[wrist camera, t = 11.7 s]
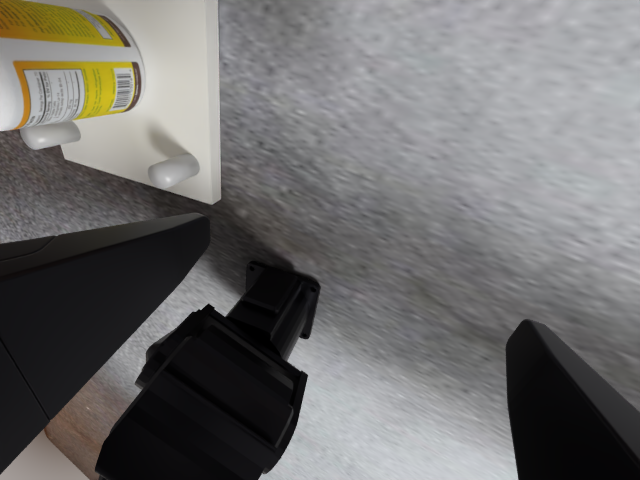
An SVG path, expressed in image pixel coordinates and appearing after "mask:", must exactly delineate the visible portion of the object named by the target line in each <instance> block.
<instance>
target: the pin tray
mask: <svg viewBox="0 0 640 480" xmlns="http://www.w3.org/2000/svg"><path fill="white" fill-rule="evenodd" d="M25 1H31V2H38V3H44V4H50V5H56V6H63V7H69V8H75V9H81V10H88V11H94V12H98V13H101V14H103V15H106V16H108V17H110V18H111V19H113V20H114V21H115V22H117V23H118V24H119V25H120V26H121V27H122V28H123V29H124V30H125V31H126V32H127V33H128V35H129V36H130V37H131V39H132V40H133V42H134V44H135V45H136V47H137V49H138V51H139V53H140V56H141V58H142V61H143V65H144V69H145V76H146V86H145V92H144V96H143V98H142V100H141V102H140V103H139V104H138V105H137V106H136V107H135V108H134V109H132V110H130V111H127V112H123V113H117V114H110V115H104V116H98V117H91V118H85V119H79V120H72V121H66V122H59V123H53V124H46V125H40V126H33V127H27V128H20V134H21V137H22V139H23V141H24V142H25V143H26V144H27V145H28V146H29V147H30V148H32V149H34V150H37V149H42V148H47V147H51V146H56V145H61V148H62V151H63V155H64V158H65V159H66V160H69V161H73V162H76V163H79V164H82V165H85V166H89V167H92V168H95V169H98V170H101V171H105V172H108V173H111V174H114V175H118V176H121V177H124V178H127V179H130V180H134V181H137V182H140V183H143V184H146V185H150V186H153V187H156V188H159V189H162V190H166V191H169V192H172V193H175V194H179V195H182V196H185V197H188V198H191V199H195V200H198V201H201V202H204V203H207V204H211V205H213V204H214V203H216V202H217V201H219V200H221V158H220V94H219V30H218V0H25Z"/></svg>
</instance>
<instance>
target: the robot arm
mask: <svg viewBox="0 0 640 480" xmlns="http://www.w3.org/2000/svg"><path fill="white" fill-rule="evenodd" d="M209 244H210V220H209V218H208V217H207V216H205V215H202V214H199V213H189V214H183V215H177V216H171V217H165V218H159V219H153V220H146V221H140V222H134V223H128V224H122V225H116V226H110V227H103V228H97V229H91V230H85V231H79V232H73V233H67V234H61V235H58V236H48V237H42V238H36V239H29V240H22V241H16V242H9V243H2V244H0V474H1V473H2V472H3V471H4V470H5V469H6V468H7V467H8V466H9V465H10V464H11V463H12V461H13V460H14V459H15V458H16V457H17V456H18V455H19V454H20V453H21V452H22V451H23V450H24V449H25V448H26V447H27V445H29V444H30V442H31V441H32V440H33V439H34V438H35V437H36V436H37V435H38V434H39V433H40V432H41V431H42V430H43V429H44V428H45V427H46V426H47V424H48V423H49V422H50V420H51V419H53V418H54V417H55V416H56V415H57V414H58V412H59V411H60V410H61V409H62V408H63V407H64V406H65V405H66V404H67V403H68V402H69V401H70V400H71V399H72V398H73V397H74V396H75V394H76V393H77V392H78V391H79V390H80V389H81V388H82V387H83V386H84V385H85V384H86V383H87V382H88V381H89V380H90V379H91V377H92V376H93V375H94V374H95V373H96V372H97V371H98V370H99V369H100V368H101V367H102V366H103V365H104V364H105V363H106V362H107V361H108V359H109V358H110V357H111V356H112V355H113V354H114V353H115V352H116V351H117V350H118V349H119V348H120V347H121V346H122V345H123V344H124V342H125V341H126V340H127V339H128V338H129V337H130V336H131V335H132V334H133V333H134V332H135V331H136V330H137V329H138V328H139V327H140V326H141V324H142V323H143V322H144V321H145V320H146V319H147V318H148V317H149V316H150V315H151V314H152V313H153V312H154V311H155V310H156V309H157V308H158V306H159V305H160V304H161V303H162V302H163V301H164V300H165V299H166V298H167V297H168V296H169V295H170V294H171V293H172V292H173V291H174V289H175V288H176V287H177V286H178V285H179V284H180V283H181V281H182V280H183V279H184V278H185V277H186V275H187V274H188V273H189V271H190V270H191V269H192V267H193V266H194V265H195V263H196V262H197V261H198V259H199V258H200V257H201V255H202V254H203V253H204V252H205V250H206V249H207V248H208V246H209ZM252 266H253V267H254V268H255V269H254V268H253V267H252ZM312 287H314V288H315V289H313V288H312ZM320 289H321V287H320V285H319V284H318V283H316V282H314V281H311V280H308V279H305V278H302V277H299V276H296V275H293V274H290V273H287V272H284V271H281V270H278V269H275V268H273V267H270V266H267V265H264V264H261V263H258V262H255V261H251V262H250V263H249V264H248V265H247V271H246V292H245V294H244V295H243V296H242V297H241V298H240V300H239V301H238V302H237V303H236V304H235V306H234V307H233V308H232V309H231V310H230V312H229V313H228V314H227V315H226V317H224V316H223V315H222V314H220V313H219V312H217V311H216V310H215V308H214V307H213V306H211V305H210V304H207V305H206V306H205V307H204V308H203V309H202V310H200V309H199V310H198V311H196V312H192V313H191V314H190V315H189V316H188V317H187V318H186V319H185V320H184V321H183V322H182V323H181V324H180V325H179V326H178V327H177V328H175V329H174V330H173V331H171V332H170V333H168V334H167V335H165V336H164V337H162V338H161V339H159V340H158V341H157V342H155V343H154V344H152V345H151V346H150V347H149V349H148V350H147V351H146V364H145V365H144V367H143V369H142V372H141V374H140V375H139V377H138V378H137V380H136V382H135V385H136V386H137V387H139V388H140V389H142V391H141V392H140V393H139V395H138V396H137V397H136V398H135V400H134V401H133V402H132V403H131V405H130V406H129V407H128V408H127V410H126V411H125V412H124V413H123V415H122V416H121V417H120V418H119V420H118V421H117V422H116V423H115V425H114V426H113V428H112V429H111V431H110V434H109V436H108V437H107V438H106V440H105V441H104V443H103V445H102V448H101V451H100V454H99V457H98V460H97V463H96V467H95V472H96V473H98V474H99V475H100V476H99V480H258V479H259V477H260V476H261V474H262V473H263V474H267V473H268V472H269V471H271V469H272V468H273V467H274V466H275V465H276V464H277V462H278V461H279V460H280V458H281V456H282V455H283V453H284V452H285V450H286V448H287V446H288V444H289V442H290V440H291V438H292V436H293V433H294V431H295V428H296V425H297V422H298V418H299V413H300V409H301V404H302V400H303V395H304V391H305V386H306V382H307V377H308V375H307V374H306V373H305V372H303V371H299V370H298V369H297V368H295V367H294V366H293V365H291V364H290V363H288V362H287V360H288V358H289V356H290V354H291V352H292V350H293V348H294V346H295V344H296V342H297V340H298V338H299V337H300V338H303V339H308V338H309V337H310V335H311V331H312V326H313V322H314V317H315V312H316V308H317V303H318V298H319V294H320ZM506 377H507V403H508V412H509V419H510V426H511V432H512V439H513V446H514V452H515V459H516V466H517V472H518V479H519V480H640V412H639V411H638V410H637V409H636V408H635V407H634V406H633V405H632V404H630V403H629V402H628V401H627V400H626V399H625V398H624V397H623V396H622V395H621V394H620V393H619V392H617V391H616V390H615V389H614V388H613V387H612V386H611V385H610V384H609V383H608V382H607V381H606V380H604V379H603V378H602V377H601V376H600V375H599V374H598V373H597V372H596V371H595V370H594V369H593V368H591V367H590V366H589V365H588V364H587V363H586V362H585V361H584V360H583V359H582V358H581V357H580V356H578V355H577V354H576V353H575V352H574V351H573V350H572V349H571V348H570V347H569V346H568V345H567V344H565V343H564V342H563V341H562V340H561V339H560V338H559V337H558V336H557V335H556V334H555V333H554V332H552V331H551V330H550V329H549V328H548V327H547V326H546V325H544V324H542V323H539V322H536V321H533V320H530V319H525V320H523V321H522V322H521V323H520V324H519V326H518V327H517V328H516V330H515V331H514V332H513V334H512V335H511V336H510V338H509V339H508V341H507V344H506Z"/></svg>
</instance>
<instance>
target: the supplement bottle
mask: <svg viewBox="0 0 640 480" xmlns="http://www.w3.org/2000/svg"><path fill="white" fill-rule="evenodd" d="M145 86H146V76H145V69H144V65H143V61H142V58H141V56H140V53H139V51H138V49H137V47H136V45H135V44H134V42H133V40H132V39H131V37H130V36H129V35H128V33H127V32H126V31H125V30H124V29H123V28H122V27H121V26H120V25H119V24H118V23H117V22H115V21H114V20H113V19H111V18H110V17H108V16H106V15H103V14H101V13H98V12H94V11H88V10H81V9H75V8H69V7H63V6H56V5H50V4H44V3H38V2H31V1H25V0H0V131H7V130H14V129H20V128H27V127H33V126H40V125H46V124H53V123H59V122H66V121H72V120H79V119H85V118H91V117H98V116H104V115H110V114H117V113H123V112H127V111H130V110H132V109H134V108H135V107H136V106H137V105H138V104H139V103H140V102H141V100H142V98H143V96H144V92H145Z"/></svg>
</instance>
